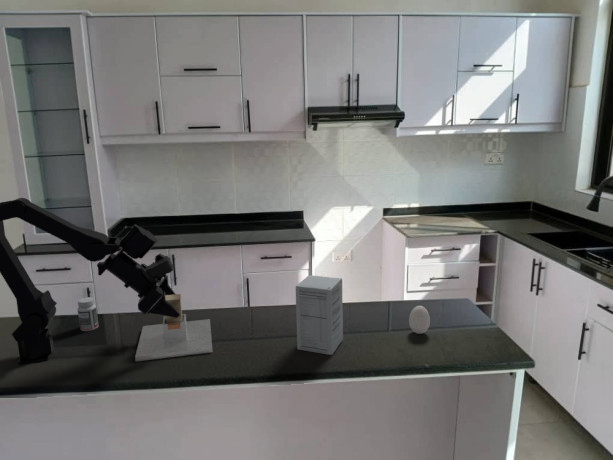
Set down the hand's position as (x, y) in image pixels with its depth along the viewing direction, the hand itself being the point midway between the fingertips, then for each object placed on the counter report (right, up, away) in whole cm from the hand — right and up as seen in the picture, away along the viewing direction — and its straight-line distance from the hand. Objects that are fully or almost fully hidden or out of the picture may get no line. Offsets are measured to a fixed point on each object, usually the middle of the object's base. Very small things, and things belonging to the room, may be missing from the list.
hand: (179, 309), depth 119 cm
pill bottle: (-28, -7, +10) cm, 31 cm away
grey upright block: (+36, -9, -2) cm, 37 cm away
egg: (+63, -7, +4) cm, 63 cm away
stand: (-1, -8, +2) cm, 9 cm away
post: (-1, -7, +1) cm, 7 cm away
